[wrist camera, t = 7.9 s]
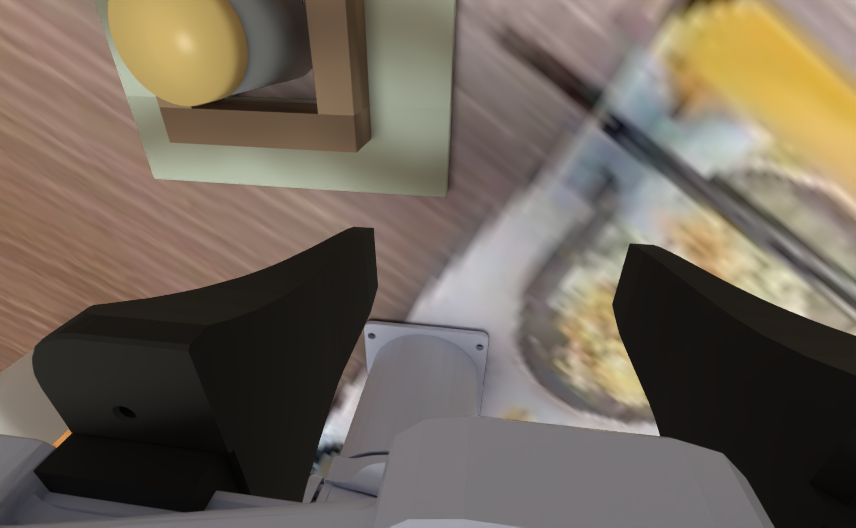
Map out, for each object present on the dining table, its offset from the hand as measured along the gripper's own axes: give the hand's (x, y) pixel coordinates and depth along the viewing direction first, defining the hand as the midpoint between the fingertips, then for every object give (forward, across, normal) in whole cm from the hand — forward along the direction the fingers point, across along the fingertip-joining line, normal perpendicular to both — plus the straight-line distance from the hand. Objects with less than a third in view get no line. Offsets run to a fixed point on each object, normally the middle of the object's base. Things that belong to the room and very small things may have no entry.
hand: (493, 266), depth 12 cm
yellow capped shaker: (+10, +10, -6) cm, 15 cm away
